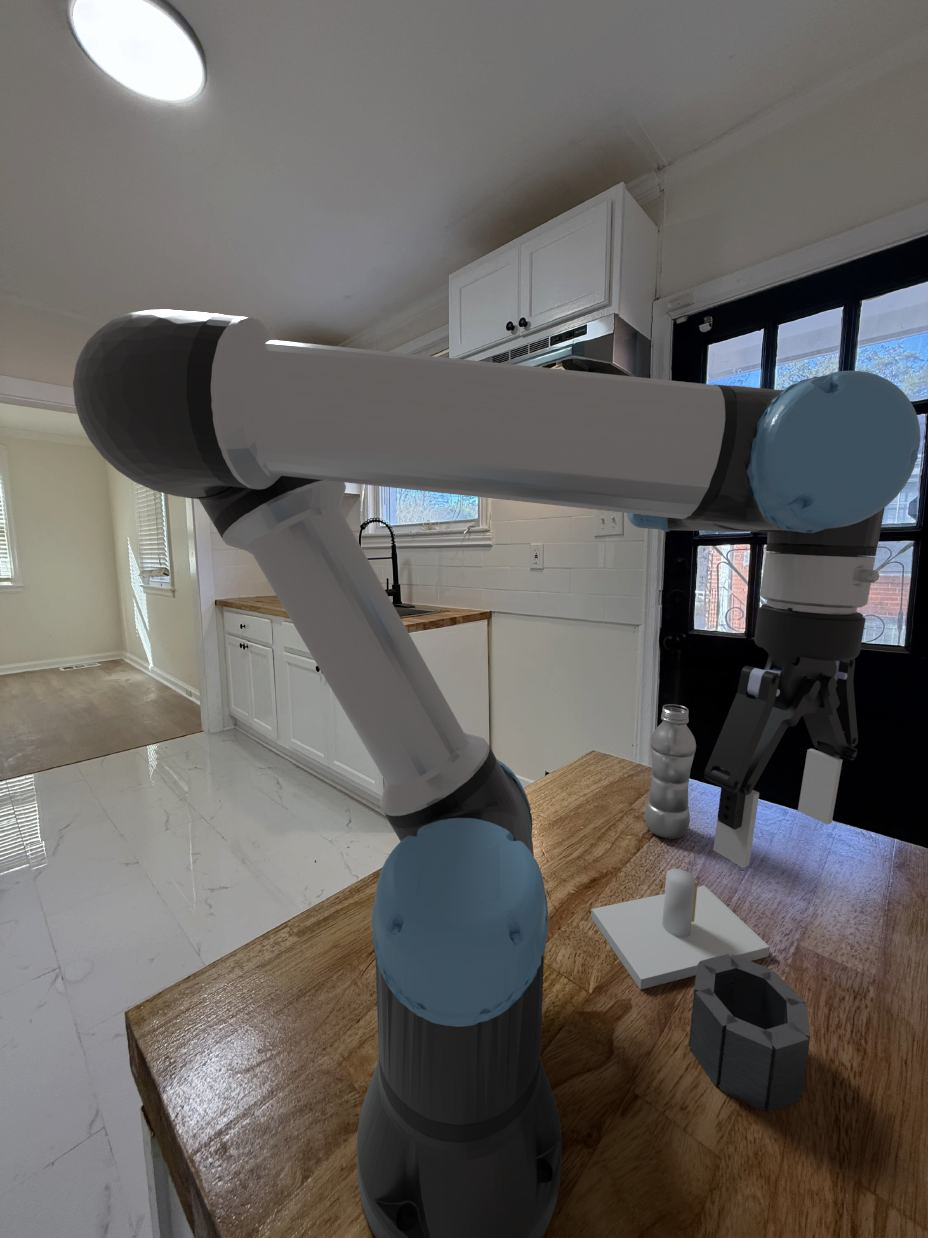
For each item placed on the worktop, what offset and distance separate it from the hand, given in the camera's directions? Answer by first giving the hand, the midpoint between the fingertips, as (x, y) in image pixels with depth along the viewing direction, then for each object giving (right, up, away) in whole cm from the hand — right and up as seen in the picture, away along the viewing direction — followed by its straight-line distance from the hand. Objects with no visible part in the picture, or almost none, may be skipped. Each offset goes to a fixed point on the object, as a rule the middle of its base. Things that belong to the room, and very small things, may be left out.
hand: (775, 836), depth 46 cm
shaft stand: (-4, -17, +12) cm, 21 cm away
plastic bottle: (+3, -13, +32) cm, 35 cm away
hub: (-4, -19, -1) cm, 19 cm away
